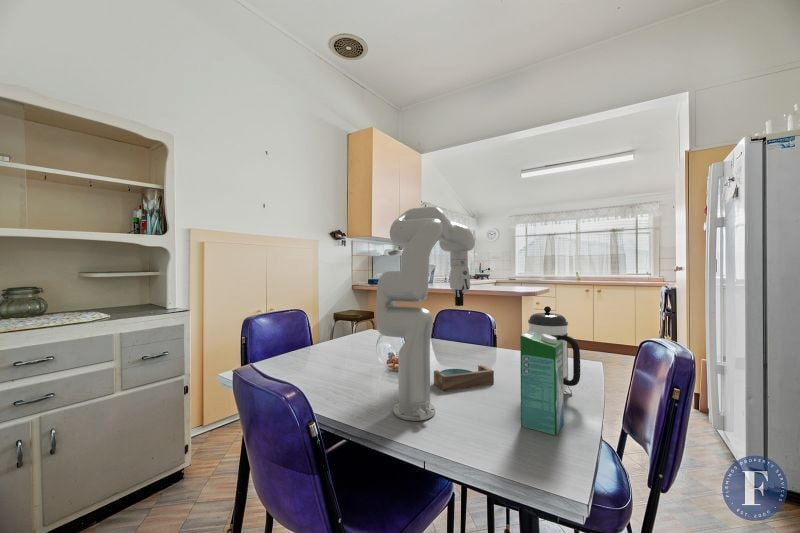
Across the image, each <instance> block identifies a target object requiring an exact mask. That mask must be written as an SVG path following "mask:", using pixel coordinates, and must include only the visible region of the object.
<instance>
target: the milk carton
mask: <svg viewBox="0 0 800 533" xmlns="http://www.w3.org/2000/svg"><path fill="white" fill-rule="evenodd" d="M519 339H520V342H519V344H520V426H521V427H524V428H527V429H530V430H535V431H537V432H542V433H545V434H549V435H552V436H553V435H554V436H558V434H559V432H560V429H562V426H563V425H564V421H565V419H564V415H565V414H564V413H565V412H564V407H565V406H564V391H563V342H562V341H559V340H557V338H555V337H553V336H551V335H547V334H539V333H536V332H533V331H529V330H528V331H526V332H524V333H523V334H521V335H520V338H519Z"/></svg>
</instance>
